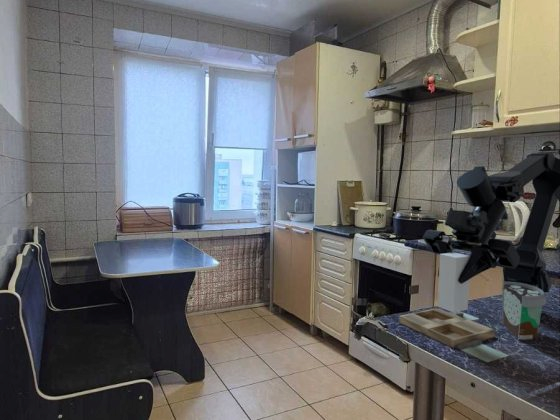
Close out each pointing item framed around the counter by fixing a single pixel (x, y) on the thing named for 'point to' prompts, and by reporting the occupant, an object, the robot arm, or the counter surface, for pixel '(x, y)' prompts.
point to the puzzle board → (454, 331)
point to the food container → (522, 309)
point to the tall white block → (452, 282)
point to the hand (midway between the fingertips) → (449, 279)
